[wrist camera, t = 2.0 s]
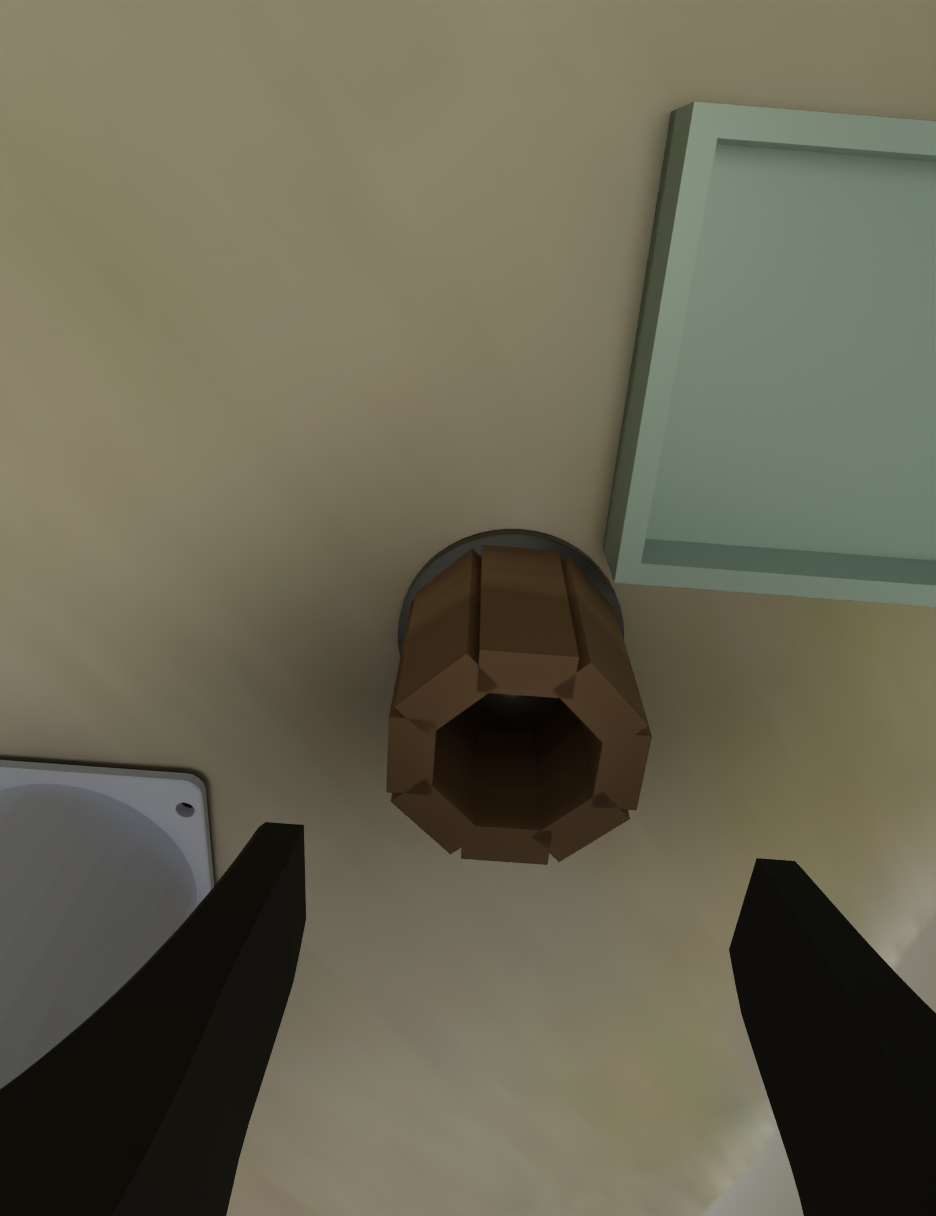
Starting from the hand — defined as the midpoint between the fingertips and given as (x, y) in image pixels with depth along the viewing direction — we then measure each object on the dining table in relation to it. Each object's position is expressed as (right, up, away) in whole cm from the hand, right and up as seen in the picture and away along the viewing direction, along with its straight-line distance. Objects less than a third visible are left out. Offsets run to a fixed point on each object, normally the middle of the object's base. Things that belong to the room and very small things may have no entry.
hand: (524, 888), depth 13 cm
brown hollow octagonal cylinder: (0, +4, +7) cm, 8 cm away
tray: (+7, +10, +5) cm, 13 cm away
